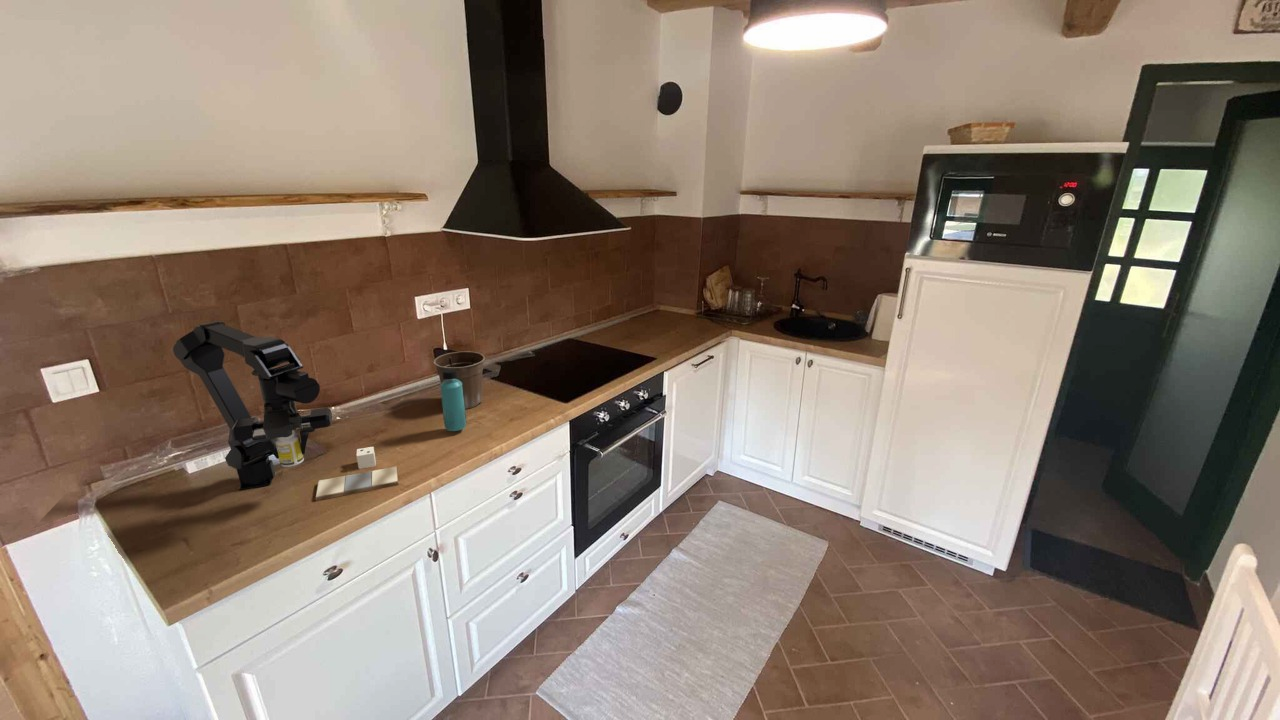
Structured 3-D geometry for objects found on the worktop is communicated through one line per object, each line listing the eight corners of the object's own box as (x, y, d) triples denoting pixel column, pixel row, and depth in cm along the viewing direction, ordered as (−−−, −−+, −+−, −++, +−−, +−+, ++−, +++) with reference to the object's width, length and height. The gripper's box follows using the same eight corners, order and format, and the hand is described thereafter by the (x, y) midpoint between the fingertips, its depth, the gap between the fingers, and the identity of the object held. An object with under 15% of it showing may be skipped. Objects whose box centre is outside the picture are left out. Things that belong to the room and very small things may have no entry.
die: (358, 469, 139) (356, 456, 137) (359, 462, 142) (356, 449, 141) (375, 466, 140) (373, 453, 139) (375, 459, 144) (373, 446, 142)
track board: (316, 500, 125) (315, 497, 124) (319, 483, 131) (318, 480, 131) (398, 484, 132) (397, 481, 132) (397, 469, 139) (396, 465, 139)
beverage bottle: (471, 431, 161) (465, 370, 154) (451, 438, 156) (444, 375, 149) (460, 424, 165) (454, 364, 158) (440, 430, 160) (433, 369, 154)
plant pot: (448, 417, 169) (443, 370, 164) (431, 400, 181) (426, 356, 176) (495, 405, 179) (492, 360, 174) (476, 390, 191) (473, 348, 186)
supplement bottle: (299, 455, 127) (293, 423, 124) (307, 461, 124) (301, 430, 121) (277, 462, 123) (269, 430, 120) (284, 469, 120) (277, 437, 118)
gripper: (217, 415, 107) (234, 481, 112) (322, 402, 115) (334, 464, 120) (230, 395, 117) (245, 457, 122) (326, 384, 124) (337, 442, 129)
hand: (291, 455), depth 123 cm, fingers closed on supplement bottle, 5 cm apart
